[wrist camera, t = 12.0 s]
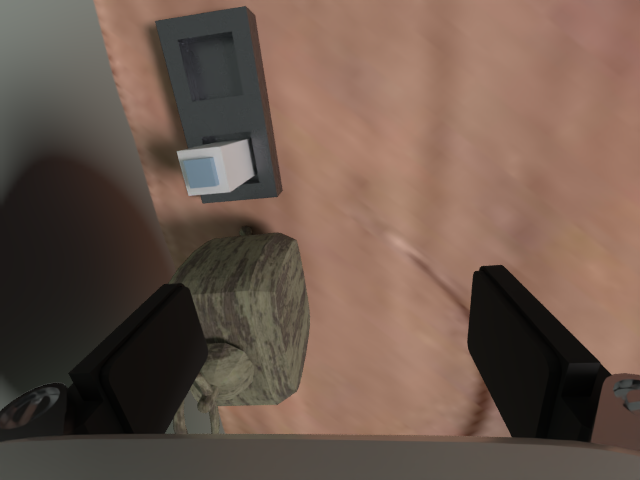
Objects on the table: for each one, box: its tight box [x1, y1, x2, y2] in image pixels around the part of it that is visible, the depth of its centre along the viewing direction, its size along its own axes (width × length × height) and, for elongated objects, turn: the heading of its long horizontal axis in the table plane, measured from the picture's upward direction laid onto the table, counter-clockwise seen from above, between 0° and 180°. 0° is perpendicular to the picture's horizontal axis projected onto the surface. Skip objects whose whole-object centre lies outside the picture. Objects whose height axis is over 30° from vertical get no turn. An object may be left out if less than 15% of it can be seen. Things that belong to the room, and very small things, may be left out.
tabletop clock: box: [168, 226, 310, 434], centre depth 30 cm, size 14×9×25 cm, turn 8°
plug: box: [177, 138, 257, 196], centre depth 31 cm, size 4×4×10 cm
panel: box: [155, 6, 283, 203], centre depth 34 cm, size 18×9×3 cm, turn 6°
